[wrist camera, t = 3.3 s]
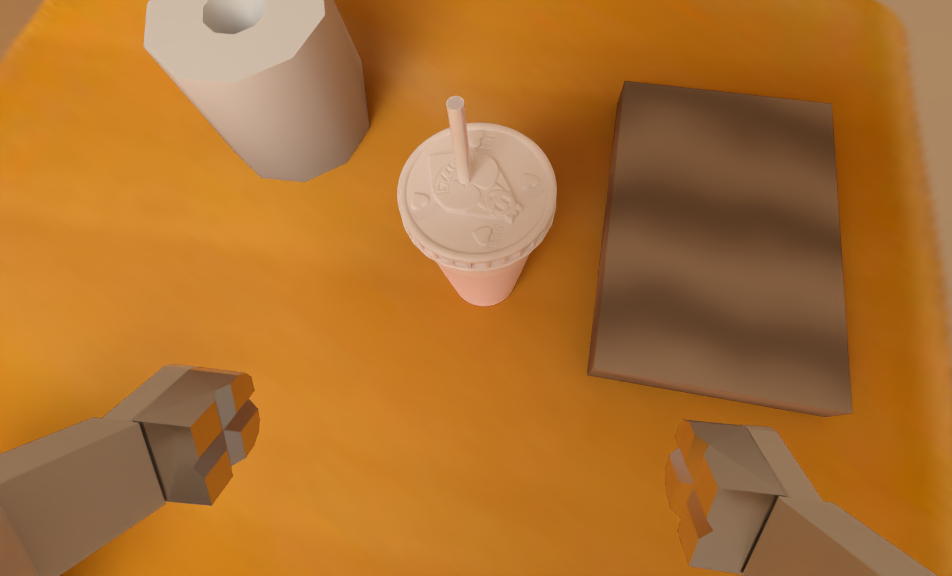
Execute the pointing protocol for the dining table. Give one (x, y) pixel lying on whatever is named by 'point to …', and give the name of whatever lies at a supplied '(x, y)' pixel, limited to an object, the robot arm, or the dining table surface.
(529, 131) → the dining table surface
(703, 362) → the walnut board
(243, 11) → the toilet tissue
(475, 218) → the smoothie
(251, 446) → the robot arm
